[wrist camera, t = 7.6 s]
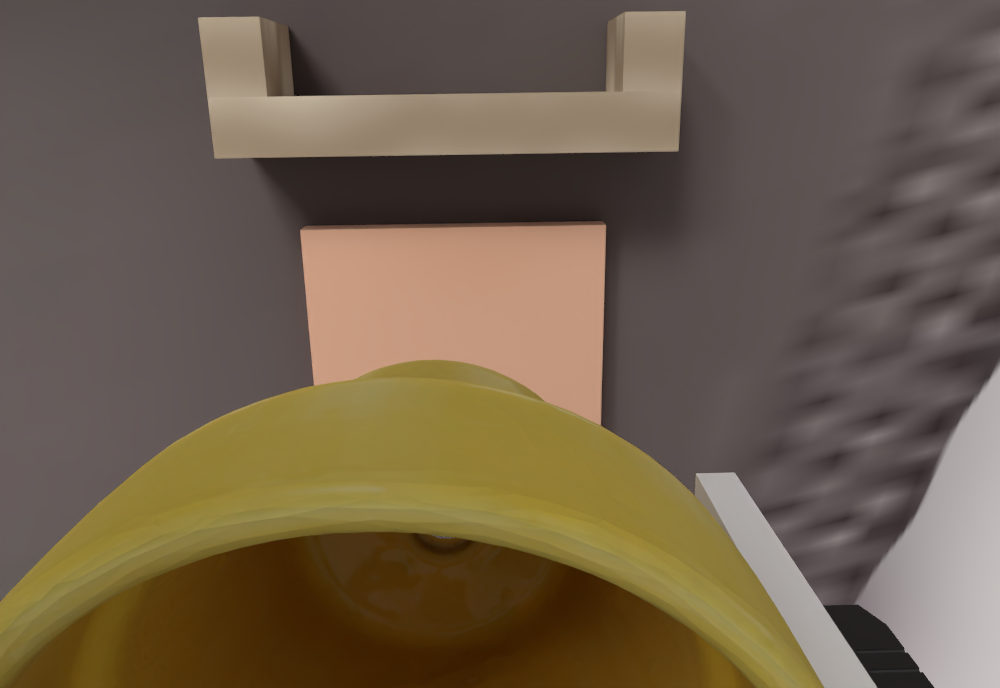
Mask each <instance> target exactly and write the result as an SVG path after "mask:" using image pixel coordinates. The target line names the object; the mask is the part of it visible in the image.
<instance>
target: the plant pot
mask: <svg viewBox="0 0 1000 688" xmlns="http://www.w3.org/2000/svg"><path fill="white" fill-rule="evenodd" d="M432 535H437V536H446V537H455V538H450V539H442V538H437V537H434V536H432ZM0 688H824V686H823V685H822V683H821V681H820V680H819V678H818V676H817V674H816V673H815V671H814V669H813V667H812V666H811V664H810V662H809V661H808V659H807V657H806V656H805V654H804V652H803V650H802V649H801V647H800V645H799V644H798V642H797V640H796V639H795V637H794V635H793V633H792V632H791V630H790V628H789V627H788V625H787V623H786V622H785V620H784V618H783V617H782V615H781V613H780V612H779V610H778V609H777V607H776V606H775V604H774V602H773V601H772V599H771V598H770V596H769V594H768V593H767V591H766V590H765V588H764V587H763V585H762V583H761V582H760V580H759V579H758V577H757V576H756V574H755V573H754V571H753V570H752V569H751V567H750V566H749V564H748V563H747V562H746V560H745V559H744V557H743V556H742V554H741V553H740V552H739V550H738V549H737V548H736V546H735V545H734V544H733V542H732V541H731V539H730V538H729V537H728V535H727V534H726V533H725V531H724V530H723V529H722V527H721V526H720V525H719V523H718V522H717V521H716V520H715V519H714V518H713V516H712V515H711V514H710V513H709V512H708V510H707V509H706V508H705V507H704V506H703V504H702V503H701V502H700V501H699V500H698V499H697V498H696V497H695V496H694V495H693V494H692V493H691V492H690V491H689V490H688V489H687V488H686V487H685V486H684V485H683V484H682V483H681V482H680V481H679V480H678V479H677V478H675V477H674V476H673V475H672V474H671V473H670V472H668V471H667V470H666V469H665V468H664V467H662V466H661V465H660V464H659V463H657V462H656V461H655V460H654V459H653V458H651V457H650V456H648V455H647V454H645V453H644V452H643V451H641V450H640V449H638V448H637V447H635V446H634V445H632V444H630V443H629V442H627V441H625V440H624V439H622V438H620V437H619V436H617V435H615V434H614V433H612V432H610V431H609V430H607V429H606V428H604V427H602V426H601V425H598V424H596V423H594V422H592V421H590V420H588V419H586V418H584V417H582V416H580V415H578V414H576V413H573V412H571V411H569V410H566V409H563V408H561V407H558V406H555V405H552V404H550V403H547V402H545V401H544V400H543V399H542V398H541V397H540V396H538V395H537V394H536V393H534V392H533V391H531V390H530V389H528V388H527V387H525V386H524V385H522V384H520V383H518V382H517V381H515V380H513V379H511V378H509V377H507V376H505V375H503V374H500V373H498V372H496V371H493V370H490V369H487V368H484V367H481V366H477V365H474V364H469V363H464V362H458V361H448V360H416V361H409V362H403V363H398V364H394V365H390V366H386V367H382V368H379V369H376V370H373V371H371V372H368V373H366V374H364V375H362V376H359V377H358V378H356V379H354V380H347V381H340V382H332V383H327V384H321V385H316V386H310V387H305V388H301V389H298V390H294V391H290V392H287V393H284V394H281V395H277V396H274V397H271V398H267V399H264V400H261V401H258V402H256V403H253V404H250V405H248V406H245V407H243V408H240V409H238V410H235V411H232V412H230V413H228V414H226V415H224V416H221V417H219V418H217V419H215V420H213V421H211V422H209V423H207V424H205V425H204V426H202V427H200V428H198V429H197V430H195V431H193V432H191V433H190V434H188V435H186V436H185V437H183V438H181V439H179V440H178V441H176V442H174V443H173V444H171V445H170V446H169V447H167V448H166V449H165V450H163V451H162V452H161V453H159V454H158V455H156V456H155V457H154V458H152V459H151V460H150V461H148V462H147V463H146V464H144V465H143V466H142V467H141V468H140V469H138V470H137V471H136V472H135V473H134V474H133V475H131V476H130V477H129V478H128V479H127V480H125V481H124V482H123V483H122V484H121V485H120V486H118V487H117V488H116V489H115V490H114V491H113V492H111V493H110V494H109V495H108V496H107V497H106V498H104V499H103V500H102V501H101V502H100V503H99V504H98V505H97V506H95V507H94V508H93V509H92V510H91V511H90V512H89V513H88V514H87V515H86V516H85V517H84V518H83V519H82V520H81V521H80V522H79V523H78V524H77V525H76V526H74V527H73V528H72V529H71V530H70V531H69V532H68V533H67V534H66V535H65V536H64V537H63V538H62V539H61V540H60V541H59V542H58V543H57V544H56V545H55V546H54V547H53V548H52V549H51V550H50V551H49V552H48V553H47V554H46V555H45V556H44V557H43V558H42V559H41V560H40V561H39V562H38V563H37V564H36V565H35V566H34V567H33V568H32V569H31V570H30V571H29V572H28V573H27V574H26V575H25V576H24V577H23V578H22V579H21V580H20V582H19V583H18V584H17V585H16V586H15V587H14V588H13V589H12V590H11V591H10V592H9V593H8V594H7V595H6V596H5V597H4V598H3V600H2V601H1V602H0Z"/></svg>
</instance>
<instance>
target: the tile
mask: <svg viewBox="0 0 1000 688" xmlns="http://www.w3.org/2000/svg"><path fill="white" fill-rule="evenodd" d="M300 234H301V245H302V256H303V267H304V278H305V290H306V301H307V312H308V323H309V334H310V345H311V357H312V368H313V379H314V386H316V385H321V384H327V383H332V382H340V381H347V380H354V379H356V378H358V377H359V376H362V375H364V374H366V373H368V372H371V371H373V370H376V369H379V368H382V367H386V366H390V365H394V364H398V363H403V362H409V361H416V360H448V361H458V362H464V363H469V364H474V365H477V366H481V367H484V368H487V369H490V370H493V371H496V372H498V373H500V374H503V375H505V376H507V377H509V378H511V379H513V380H515V381H517V382H518V383H520V384H522V385H524V386H525V387H527V388H528V389H530V390H531V391H533V392H534V393H536V394H537V395H538V396H540V397H541V398H542V399H543V400H544V401H545V402H547V403H550V404H552V405H555V406H558V407H561V408H563V409H566V410H569V411H571V412H573V413H576V414H578V415H580V416H582V417H584V418H586V419H588V420H590V421H592V422H594V423H596V424H598V425H601V398H602V361H603V323H604V285H605V247H606V224H605V223H604V222H603V221H573V222H512V223H451V224H390V225H329V226H305V227H303V228H302V229H301V230H300Z"/></svg>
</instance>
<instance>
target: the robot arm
mask: <svg viewBox="0 0 1000 688" xmlns="http://www.w3.org/2000/svg"><path fill="white" fill-rule="evenodd" d="M695 497H696V498H697V499H698V500H699V501H700V502H701V503H702V504H703V506H704V507H705V508H706V509H707V510H708V512H709V513H710V514H711V515H712V516H713V518H714V519H715V520H716V521H717V522H718V523H719V525H720V526H721V527H722V529H723V530H724V531H725V533H726V534H727V535H728V537H729V538H730V539H731V541H732V542H733V544H734V545H735V546H736V548H737V549H738V550H739V552H740V553H741V554H742V556H743V557H744V559H745V560H746V562H747V563H748V564H749V566H750V567H751V569H752V570H753V571H754V573H755V574H756V576H757V577H758V579H759V580H760V582H761V583H762V585H763V587H764V588H765V590H766V591H767V593H768V594H769V596H770V598H771V599H772V601H773V602H774V604H775V606H776V607H777V609H778V610H779V612H780V613H781V615H782V617H783V618H784V620H785V622H786V623H787V625H788V627H789V628H790V630H791V632H792V633H793V635H794V637H795V639H796V640H797V642H798V644H799V645H800V647H801V649H802V650H803V652H804V654H805V656H806V657H807V659H808V661H809V662H810V664H811V666H812V667H813V669H814V671H815V673H816V674H817V676H818V678H819V680H820V681H821V683H822V685H823V686H824V688H934V687H933V685H932V684H931V683H930V681H929V680H928V679H927V678H926V676H925V675H924V673H923V672H922V673H920V671H919V667H918V666H917V664H916V663H915V662H914V661H913V659H912V658H911V657H910V655H909V654H908V653H905V651H904V647H903V646H902V645H901V643H900V642H899V641H898V639H897V638H896V637H895V635H894V634H893V633H892V631H891V630H890V629H889V627H888V626H887V625H886V624H885V623H883V622H882V621H880V620H879V619H878V618H876V617H875V616H873V615H872V614H870V613H869V612H868V611H866V610H865V609H863V608H862V607H860V606H859V605H831V606H823V605H822V604H821V602H820V600H819V599H818V597H817V596H816V594H815V593H814V591H813V590H812V588H811V587H810V585H809V584H808V582H807V581H806V579H805V578H804V576H803V575H802V573H801V572H800V570H799V569H798V567H797V566H796V564H795V563H794V561H793V560H792V558H791V557H790V555H789V554H788V552H787V551H786V549H785V548H784V546H783V545H782V543H781V542H780V540H779V539H778V537H777V536H776V534H775V533H774V531H773V530H772V528H771V527H770V525H769V524H768V522H767V521H766V519H765V518H764V516H763V515H762V513H761V512H760V510H759V509H758V507H757V505H756V504H755V502H754V501H753V499H752V498H751V496H750V495H749V493H748V492H747V490H746V489H745V487H744V486H743V484H742V483H741V481H740V480H739V478H738V477H737V475H736V474H735V473H697V474H696V479H695Z"/></svg>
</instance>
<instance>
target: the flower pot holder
mask: <svg viewBox="0 0 1000 688" xmlns="http://www.w3.org/2000/svg"><path fill="white" fill-rule="evenodd" d="M685 17H686V11H655V12H624V13H622V14H621V15H619V16H617V17H615V18H614V19H612V20H610V21H609V22H608V23H607V63H606V92H546V93H476V94H407V95H338V96H294V87H293V75H292V64H291V53H290V41H289V30H288V26H286V25H283V24H280V23H277V22H274V21H271V20H268V19H265V18H262V17H200V18H198V22H199V31H200V39H201V47H202V56H203V64H204V73H205V81H206V89H207V98H208V106H209V115H210V123H211V131H212V140H213V148H214V157H215V158H274V157H339V156H404V155H470V154H535V153H600V152H665V151H679V132H680V113H681V94H682V74H683V55H684V36H685Z"/></svg>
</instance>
